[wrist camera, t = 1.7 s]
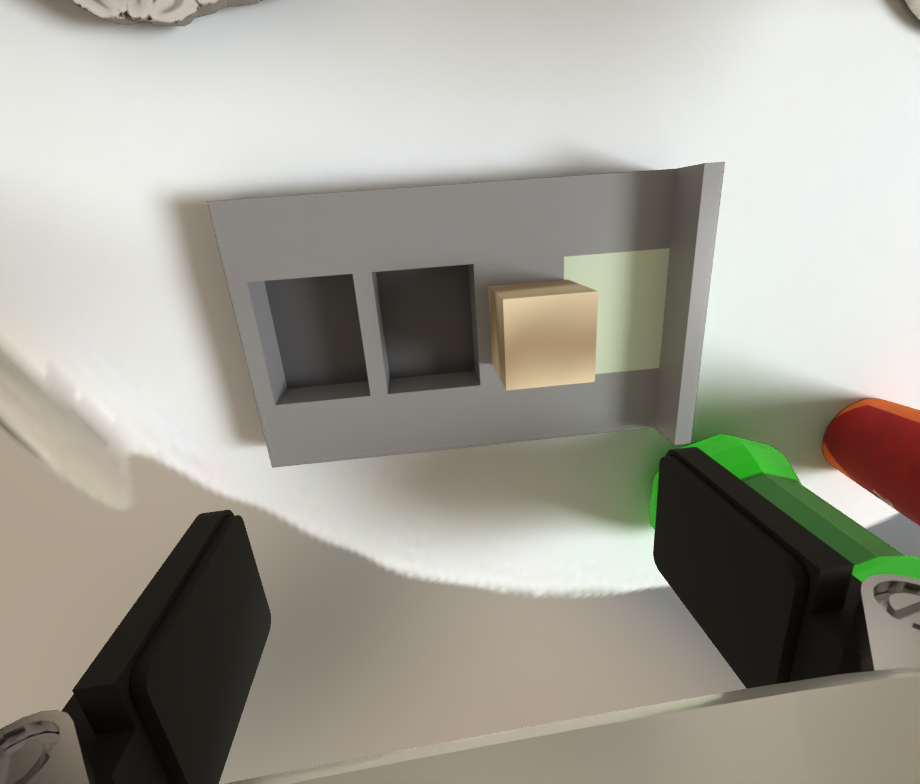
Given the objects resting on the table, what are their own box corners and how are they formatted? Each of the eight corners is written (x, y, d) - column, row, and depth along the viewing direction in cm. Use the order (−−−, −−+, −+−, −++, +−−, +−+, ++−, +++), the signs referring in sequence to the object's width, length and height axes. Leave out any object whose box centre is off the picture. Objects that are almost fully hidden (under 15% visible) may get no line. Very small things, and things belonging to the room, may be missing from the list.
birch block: (488, 286, 25) (502, 299, 21) (568, 279, 26) (598, 291, 22) (491, 364, 27) (506, 390, 23) (567, 356, 27) (594, 381, 23)
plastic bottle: (621, 538, 36) (993, 1113, 13) (635, 415, 33) (1193, 911, 9) (742, 528, 37) (1298, 1053, 14) (769, 407, 33) (1596, 845, 10)
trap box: (229, 203, 26) (183, 199, 20) (666, 172, 27) (724, 161, 22) (285, 445, 31) (259, 489, 26) (647, 407, 32) (690, 443, 27)
